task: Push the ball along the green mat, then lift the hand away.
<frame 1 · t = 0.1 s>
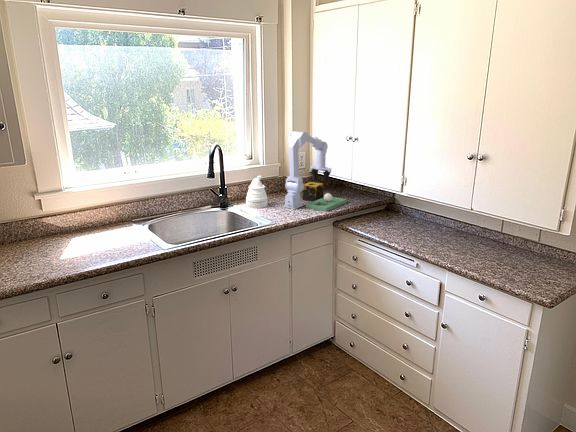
hand: (320, 181, 274), 10 cm above the worktop, tool pointing down, fingers open, 7 cm apart
ball: (327, 197, 258), point 4 cm above the worktop, touching green mat
yellow cube with hole: (312, 199, 271), on the worktop
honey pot: (257, 205, 259), on the worktop
green mat: (326, 204, 259), on the worktop
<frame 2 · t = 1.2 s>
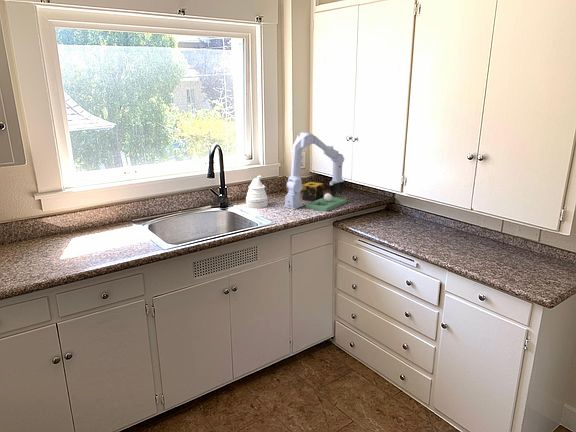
hand: (336, 194, 266), 4 cm above the worktop, tool pointing down, fingers open, 7 cm apart
nothing on the worktop moved.
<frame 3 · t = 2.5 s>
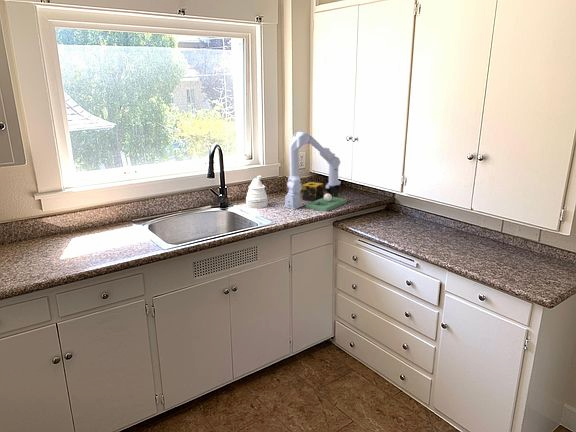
hand: (333, 197, 263), 3 cm above the worktop, tool pointing down, fingers open, 5 cm apart
ball: (327, 197, 258), point 4 cm above the worktop, touching green mat, gripper
everything else where it was.
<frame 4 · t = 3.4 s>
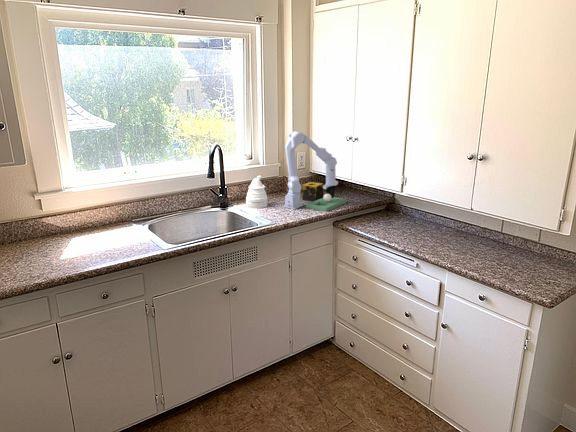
hand: (330, 198, 260), 3 cm above the worktop, tool pointing down, fingers closed
ball: (327, 197, 257), point 4 cm above the worktop, tilted 21°, touching green mat, gripper
everything else where it was.
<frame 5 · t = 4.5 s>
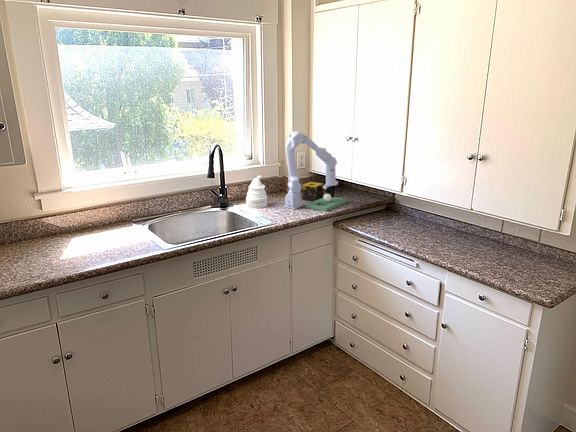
hand: (330, 198, 260), 3 cm above the worktop, tool pointing down, fingers closed
nothing on the worktop moved.
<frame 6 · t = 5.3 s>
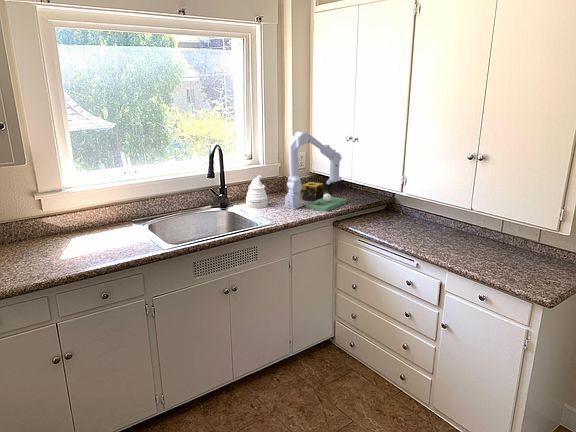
hand: (333, 193, 263), 5 cm above the worktop, tool pointing down, fingers open, 7 cm apart
ball: (327, 197, 258), point 4 cm above the worktop, tilted 17°, touching green mat
everything else where it was.
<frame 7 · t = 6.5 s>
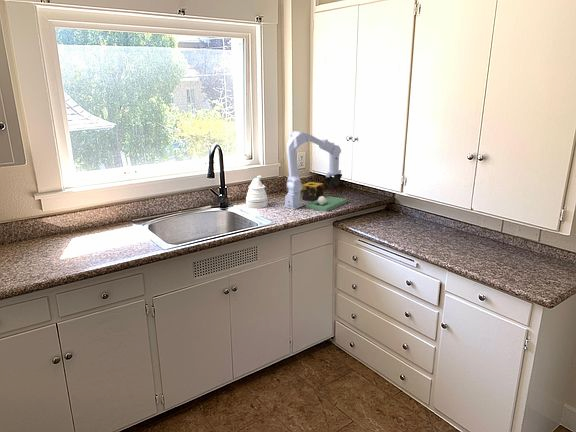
hand: (333, 186, 263), 9 cm above the worktop, tool pointing down, fingers open, 7 cm apart
ball: (321, 200, 254), point 4 cm above the worktop, tilted 136°, touching green mat
everything else where it was.
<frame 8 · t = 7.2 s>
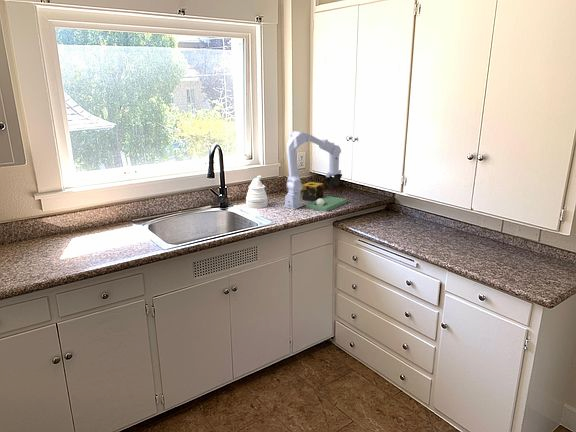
hand: (333, 186, 263), 9 cm above the worktop, tool pointing down, fingers open, 7 cm apart
ball: (320, 202, 254), point 3 cm above the worktop, tilted 176°, touching green mat
everything else where it was.
at the end: ball 1.2 cm from the target spot on the green mat, point 2.7 cm above the green mat's base; ball moved 6.7 cm from its start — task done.
